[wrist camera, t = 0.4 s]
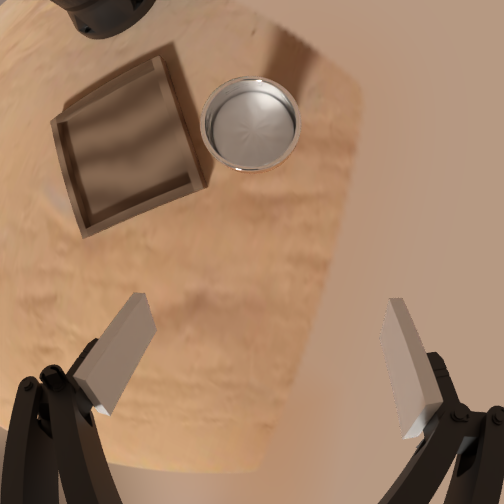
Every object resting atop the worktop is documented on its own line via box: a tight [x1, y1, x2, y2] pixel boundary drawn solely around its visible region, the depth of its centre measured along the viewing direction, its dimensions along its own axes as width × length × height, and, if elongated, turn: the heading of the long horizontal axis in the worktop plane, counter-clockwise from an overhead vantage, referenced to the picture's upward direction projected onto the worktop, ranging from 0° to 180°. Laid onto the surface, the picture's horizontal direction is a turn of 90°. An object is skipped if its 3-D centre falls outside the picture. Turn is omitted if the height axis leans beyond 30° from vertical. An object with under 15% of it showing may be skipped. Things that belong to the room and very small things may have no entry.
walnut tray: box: [51, 55, 207, 239], centre depth 36 cm, size 20×20×2 cm
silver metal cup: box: [200, 76, 301, 174], centre depth 24 cm, size 7×7×15 cm
